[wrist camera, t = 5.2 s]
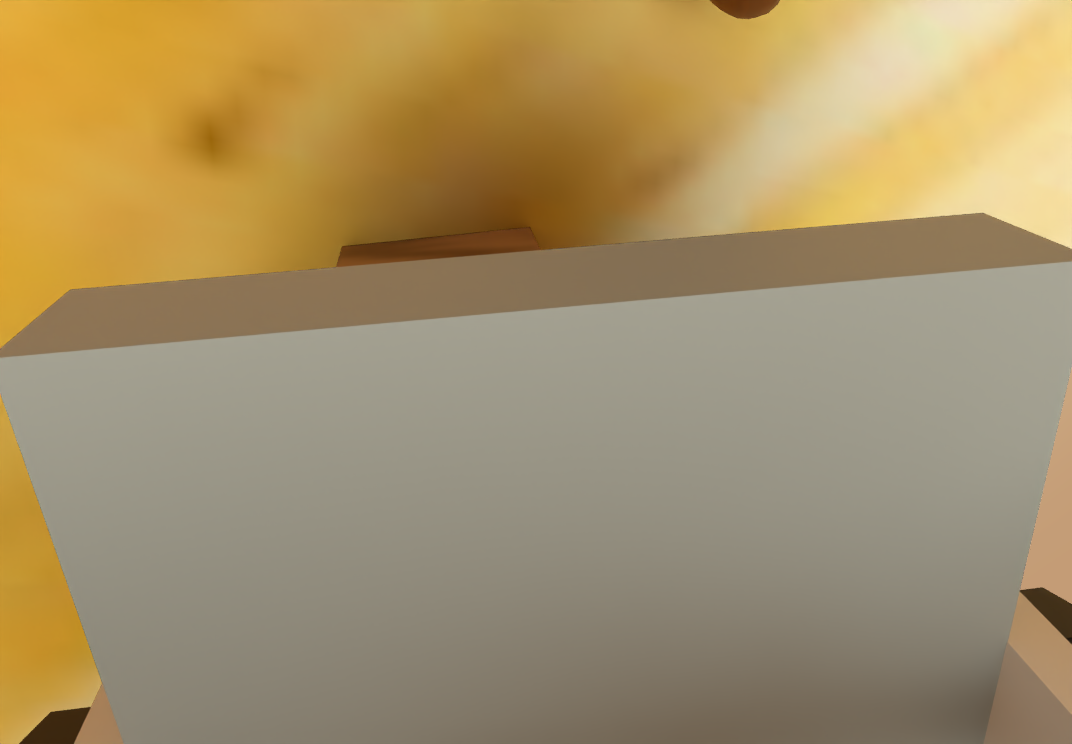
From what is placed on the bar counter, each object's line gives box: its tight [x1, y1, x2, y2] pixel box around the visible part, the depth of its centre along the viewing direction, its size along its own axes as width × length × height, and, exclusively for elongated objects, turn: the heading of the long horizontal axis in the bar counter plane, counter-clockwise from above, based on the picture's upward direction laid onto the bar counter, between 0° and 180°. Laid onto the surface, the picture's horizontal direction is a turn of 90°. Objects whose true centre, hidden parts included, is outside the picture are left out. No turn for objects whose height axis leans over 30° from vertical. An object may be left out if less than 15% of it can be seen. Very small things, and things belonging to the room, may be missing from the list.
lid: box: [0, 213, 1072, 744], centre depth 12 cm, size 11×13×2 cm
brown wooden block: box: [336, 227, 540, 267], centre depth 30 cm, size 7×7×6 cm
